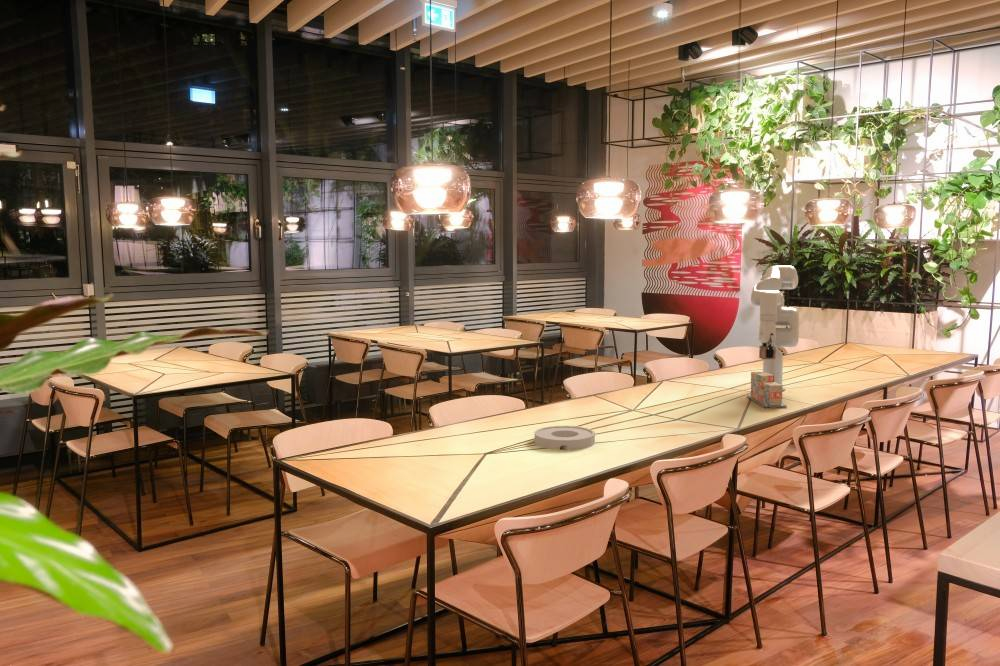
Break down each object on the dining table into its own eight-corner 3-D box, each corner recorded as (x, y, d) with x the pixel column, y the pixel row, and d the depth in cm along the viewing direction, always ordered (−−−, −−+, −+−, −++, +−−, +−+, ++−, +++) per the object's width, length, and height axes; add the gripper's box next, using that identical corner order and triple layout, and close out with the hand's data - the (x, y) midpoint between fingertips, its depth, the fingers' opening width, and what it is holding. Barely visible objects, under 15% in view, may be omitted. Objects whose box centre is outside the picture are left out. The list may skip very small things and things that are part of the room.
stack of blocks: (782, 405, 352) (782, 378, 350) (768, 405, 351) (769, 378, 350) (762, 396, 373) (763, 371, 372) (750, 396, 372) (750, 371, 371)
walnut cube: (759, 357, 364) (759, 345, 363) (771, 357, 364) (771, 345, 363) (763, 359, 358) (763, 347, 358) (775, 359, 358) (775, 347, 358)
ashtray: (566, 432, 312) (566, 422, 312) (607, 443, 294) (608, 433, 293) (522, 442, 298) (522, 431, 298) (562, 454, 280) (562, 443, 279)
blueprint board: (747, 397, 376) (747, 395, 376) (767, 397, 376) (767, 395, 376) (764, 408, 351) (764, 405, 351) (786, 407, 351) (786, 405, 351)
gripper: (754, 316, 367) (753, 354, 369) (766, 319, 350) (765, 359, 352) (769, 316, 367) (768, 354, 369) (783, 319, 350) (782, 359, 352)
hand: (767, 356), depth 361 cm, fingers closed on walnut cube, 5 cm apart
